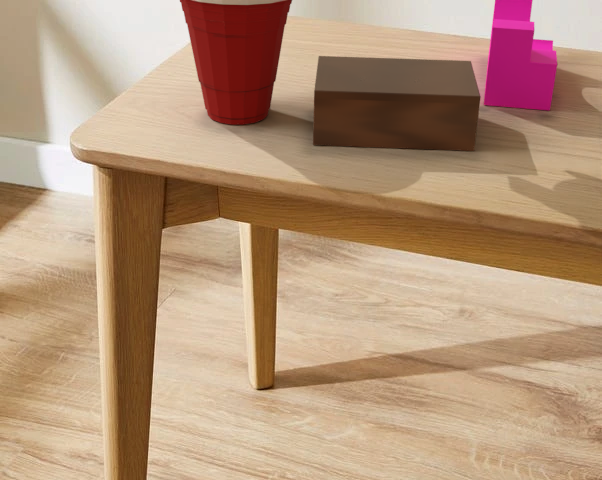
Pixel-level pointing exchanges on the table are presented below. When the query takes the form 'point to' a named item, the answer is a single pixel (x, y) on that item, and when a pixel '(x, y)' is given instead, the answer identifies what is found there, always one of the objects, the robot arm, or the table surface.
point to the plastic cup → (236, 54)
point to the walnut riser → (395, 103)
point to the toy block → (518, 60)
